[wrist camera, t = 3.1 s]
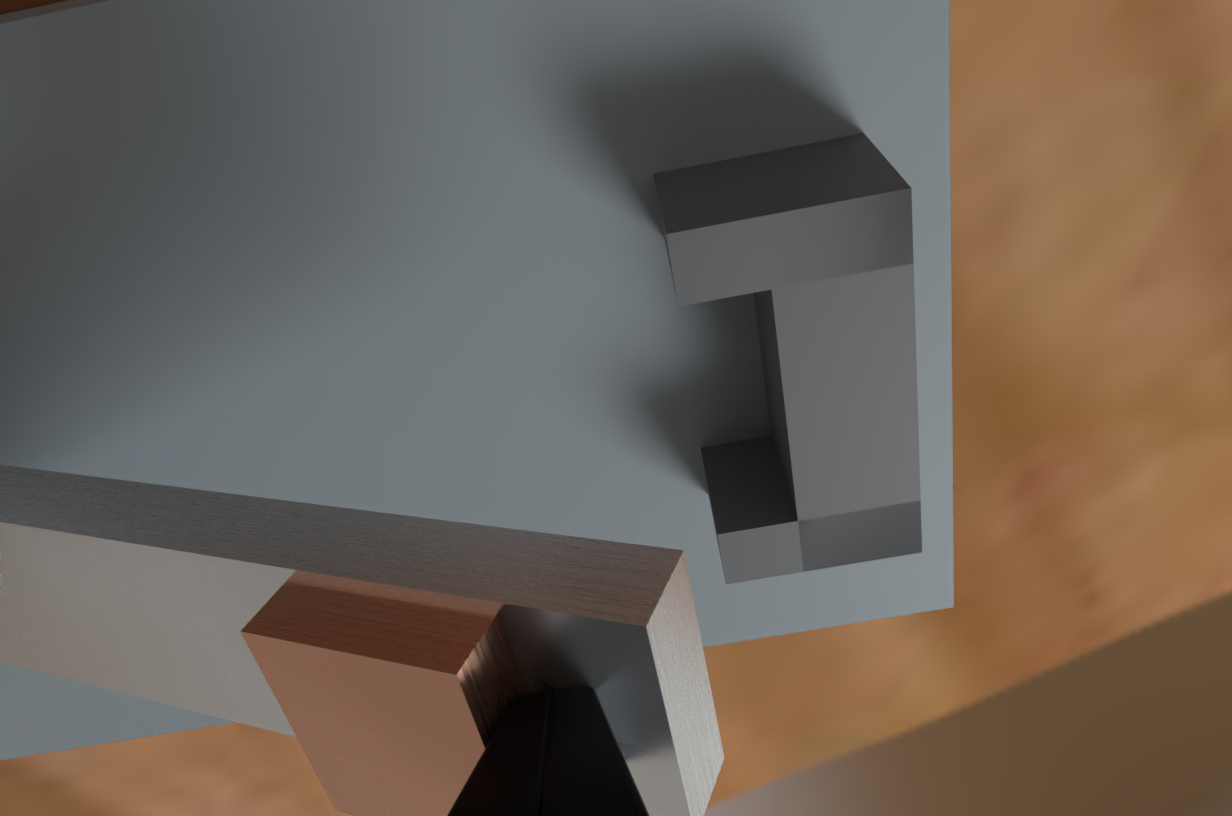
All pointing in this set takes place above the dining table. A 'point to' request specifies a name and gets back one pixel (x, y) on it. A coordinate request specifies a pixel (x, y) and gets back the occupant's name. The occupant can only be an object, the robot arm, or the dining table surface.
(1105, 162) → the dining table surface
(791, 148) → the base plate
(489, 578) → the light grey long bar
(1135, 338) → the dining table surface
